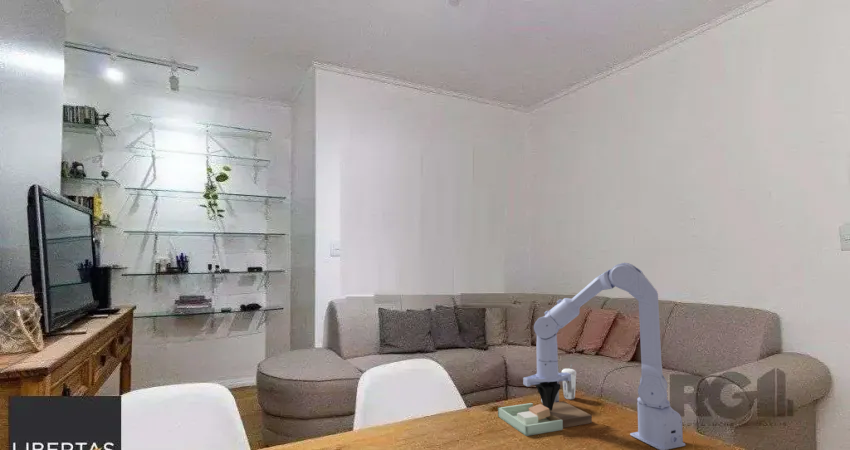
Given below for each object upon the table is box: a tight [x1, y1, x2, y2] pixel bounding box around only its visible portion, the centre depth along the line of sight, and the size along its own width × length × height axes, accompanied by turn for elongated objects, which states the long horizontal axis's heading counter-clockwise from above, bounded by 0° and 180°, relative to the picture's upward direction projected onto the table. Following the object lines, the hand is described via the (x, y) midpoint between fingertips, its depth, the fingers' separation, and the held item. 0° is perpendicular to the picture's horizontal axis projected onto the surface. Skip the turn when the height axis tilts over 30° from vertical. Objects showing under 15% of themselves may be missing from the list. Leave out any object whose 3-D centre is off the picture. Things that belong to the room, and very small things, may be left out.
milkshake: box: [560, 363, 577, 401], centre depth 140 cm, size 4×5×10 cm
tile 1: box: [517, 411, 538, 425], centre depth 118 cm, size 4×4×2 cm
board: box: [534, 400, 593, 429], centre depth 123 cm, size 12×10×2 cm
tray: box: [497, 402, 564, 437], centre depth 119 cm, size 14×11×2 cm
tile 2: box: [529, 403, 550, 420], centre depth 120 cm, size 4×4×2 cm
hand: (547, 409), depth 121 cm, fingers closed
